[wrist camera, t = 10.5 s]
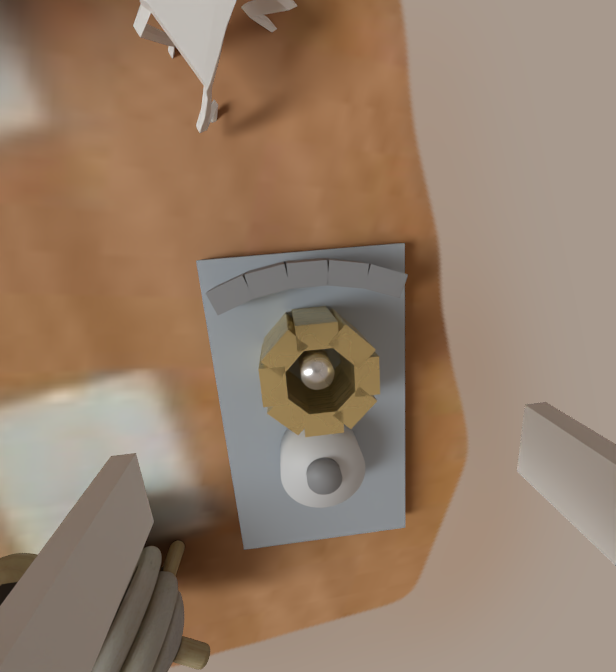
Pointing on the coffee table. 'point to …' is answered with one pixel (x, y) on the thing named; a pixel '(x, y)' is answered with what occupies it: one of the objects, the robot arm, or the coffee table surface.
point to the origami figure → (201, 35)
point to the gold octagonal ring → (336, 399)
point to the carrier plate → (244, 383)
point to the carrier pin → (316, 369)
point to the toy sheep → (139, 616)
